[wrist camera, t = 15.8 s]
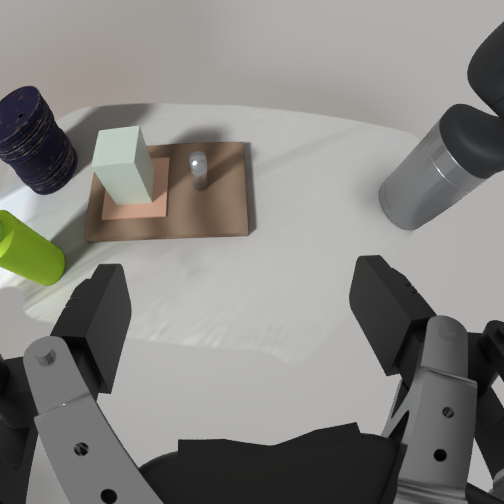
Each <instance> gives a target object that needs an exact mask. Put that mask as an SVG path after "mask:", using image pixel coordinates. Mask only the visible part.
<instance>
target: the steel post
mask: <svg viewBox="0 0 504 504" xmlns="http://www.w3.org/2000/svg"><path fill="white" fill-rule="evenodd" d="M189 161H190V168H191V174H192V180H193V186H194V188H195V190H197V191H204V190H205V189H207V187H208V175H207V161H206V155H205V154H204V153H203V152H201V151H196V152H193V153H192V154H191V155H190V157H189Z"/></svg>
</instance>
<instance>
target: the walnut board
mask: <svg viewBox="0 0 504 504" xmlns="http://www.w3.org/2000/svg"><path fill="white" fill-rule="evenodd" d="M146 147H147V150H148V153H149V156H150V159H152V158H167V157H169V158H170V160H169V174H168V190H167V209H166V217H150V218H131V219H114V220H102V212H103V204H104V196H105V187H104V186H103V184H102V183H101V181H100V180H99V178H98V177H97V175H96V174H95V172H94V175H93V180H92V186H91V192H90V198H89V205H88V212H87V220H86V228H85V237H84V239H85V240H86V241H87V242H105V241H127V240H151V239H176V238H204V237H235V236H248V218H247V201H246V185H245V168H244V151H243V142H215V143H188V144H170V145H156V146H146ZM196 151H201V152H203V153H204V154H205V155H206V161H207V175H208V187H207V189H205V190H204V191H197V190H195V188H194V186H193V180H192V174H191V168H190V161H189V157H190V155H191V154H192V153H193V152H196Z"/></svg>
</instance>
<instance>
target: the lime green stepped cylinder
mask: <svg viewBox="0 0 504 504" xmlns="http://www.w3.org/2000/svg"><path fill="white" fill-rule="evenodd" d="M0 267H2V268H5V269H7V270H9V271H11V272H14V273H16V274H18V275H20V276H23V277H25V278H27V279H30V280H32V281H35V282H37V283H39V284H42V285H46V286H48V285H52V284H54V283H56V282H57V281H58V280H59V279H60V277H61V276H62V274H63V271H64V268H65V258H64V255H63V252H62V251H61V250H60V249H59V248H58V247H57V246H55V245H54V244H52V243H51V242H49V241H48V240H47V239H45V238H44V237H42V236H41V235H39V234H38V233H37V232H35V231H34V230H32V229H31V228H30V227H28V226H27V225H25V224H24V223H23V222H21V221H20V220H19V219H17V218H16V217H15V216H13V215H12V214H11V213H9V212H8V211H6V210H0Z"/></svg>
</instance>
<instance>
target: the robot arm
mask: <svg viewBox="0 0 504 504" xmlns="http://www.w3.org/2000/svg"><path fill="white" fill-rule="evenodd" d="M467 76H468V81H469V84H470V86H471V87H472V89H473V90H474V91H475V93H476V94H477V95H478V96H479V97H480V98H481V99H482V100H483V101H484V102H485V103H486V104H487V105H488V106H489V107H490V108H491V109H492V110H493V111H494V112H495V113H496V114H497V115H498V116H499V117H497V116H493V115H490V114H487V113H485V112H483V111H480V110H478V109H476V108H474V107H472V106H469V105H466V104H456V105H453V106H452V107H450V108H449V109H448V110H447V111H446V112H445V114H444V115H443V116H442V117H441V119H440V120H439V121H438V122H437V123H436V124H435V125H434V127H433V128H432V129H431V130H430V131H429V133H428V134H427V135H426V136H425V137H424V138H423V139H422V141H421V142H420V143H419V144H418V145H417V146H416V147H415V148H414V150H413V151H412V152H411V153H410V154H409V155H408V156H407V157H406V159H405V160H404V161H403V162H402V163H401V164H400V165H399V166H398V167H397V168H396V170H395V171H394V172H393V173H392V174H391V175H390V176H389V177H388V178H387V179H386V180H385V182H384V183H383V184H382V186H381V188H380V194H379V198H380V203H381V206H382V209H383V211H384V213H385V214H386V216H387V217H388V218H389V219H390V220H391V221H392V222H393V223H394V224H395V225H397V226H398V227H400V228H402V229H406V230H415V229H418V228H419V227H421V226H422V225H423V224H425V223H427V222H428V221H430V220H432V219H433V218H435V217H436V216H438V215H439V214H440V213H442V212H443V211H445V210H446V209H448V208H449V207H451V206H452V205H453V204H455V203H456V202H458V201H459V200H461V199H462V198H463V197H464V196H465V195H467V194H468V193H470V192H471V191H472V190H474V189H475V188H476V187H478V185H480V184H481V183H483V182H484V181H486V180H487V179H488V178H490V177H491V176H492V175H494V174H495V173H497V172H501V171H503V170H504V22H503V23H502V24H501V25H500V26H499V27H497V29H495V30H494V31H493V32H492V33H491V34H490V35H489V36H488V38H487V39H486V40H485V41H484V42H483V43H482V44H481V45H480V47H479V48H478V49H477V50H476V52H475V54H474V55H473V57H472V59H471V61H470V64H469V67H468V71H467ZM349 302H350V307H351V310H352V312H353V313H354V315H355V317H356V319H357V321H358V323H359V324H360V326H361V328H362V330H363V332H364V334H365V336H366V338H367V339H368V341H369V343H370V345H371V347H372V349H373V351H374V353H375V355H376V357H377V358H378V360H379V362H380V364H381V366H382V368H383V370H384V372H385V374H386V376H390V375H395V374H399V373H400V375H401V377H402V378H401V380H400V382H399V384H398V387H397V391H396V395H395V397H394V401H393V404H392V407H391V410H390V413H389V417H388V420H387V422H386V425H385V428H384V430H383V432H382V434H381V436H379V435H375V434H366V433H360V430H359V428H358V425H357V423H356V422H354V423H350V424H345V425H340V426H335V427H329V428H323V429H318V430H314V431H312V432H309V433H307V434H304V435H302V436H299V437H296V438H294V439H291V440H288V441H286V442H283V443H280V444H277V445H271V446H268V445H259V444H252V443H245V442H238V441H232V440H226V439H209V440H208V439H207V440H178V451H176V452H171V453H168V454H165V455H162V456H159V457H157V458H155V459H152V460H150V461H149V462H147V463H146V464H144V465H142V466H141V467H139V468H138V466H137V465H136V464H135V462H134V461H133V459H132V458H131V456H130V455H129V454H128V452H127V451H126V449H125V448H124V446H123V445H122V443H121V442H120V440H119V439H118V437H117V436H116V434H115V433H114V431H113V429H112V428H111V426H110V424H109V423H108V421H107V419H106V418H105V416H104V414H103V413H102V411H101V409H100V407H99V406H98V404H97V402H96V401H97V397H98V393H106V394H111V392H112V387H113V383H114V379H115V375H116V371H117V367H118V363H119V359H120V356H121V352H122V348H123V344H124V341H125V337H126V334H127V330H128V327H129V323H130V320H131V301H130V297H129V293H128V288H127V284H126V279H125V275H124V270H123V267H122V265H121V264H99V265H98V267H97V268H96V270H95V272H94V274H93V275H92V277H91V279H85V280H84V281H83V282H82V283H81V284H79V285H78V286H77V287H76V288H75V290H74V291H73V293H72V295H71V297H70V300H68V302H67V304H66V306H65V308H64V309H63V311H62V313H61V315H60V317H59V319H58V321H57V322H56V324H55V326H54V328H53V330H52V332H51V334H50V336H47V337H43V338H40V339H38V340H36V341H34V342H33V343H32V344H31V345H30V346H29V347H28V348H27V349H26V351H25V353H24V356H23V357H18V358H12V359H6V360H4V359H3V358H2V356H1V354H0V504H26V496H27V489H28V483H29V477H30V471H31V466H32V461H33V456H34V451H35V446H36V442H37V438H38V433H39V435H40V438H41V441H42V443H43V446H44V448H45V451H46V453H47V456H48V458H49V460H50V463H51V465H52V467H53V470H54V472H55V474H56V476H57V478H58V480H59V482H60V484H61V486H62V488H63V490H64V492H65V494H66V496H67V498H68V500H69V502H70V504H504V408H503V406H502V404H501V402H500V401H499V399H498V397H497V396H496V394H495V392H494V390H493V389H492V387H491V385H492V384H493V383H494V381H495V380H496V378H497V377H498V375H500V377H501V378H502V380H503V382H504V322H501V321H498V320H493V321H490V322H488V323H487V325H486V327H485V329H484V331H483V333H470V332H467V331H466V329H465V328H464V326H463V325H462V324H461V323H460V322H458V321H457V320H455V319H453V318H451V317H448V316H440V315H439V316H437V315H436V313H435V312H434V311H433V310H432V308H431V307H430V306H429V305H428V303H427V302H426V301H425V300H424V298H423V297H422V296H421V295H420V294H419V293H417V290H416V289H415V288H414V286H412V285H411V283H410V282H409V281H408V279H407V278H406V277H405V276H404V275H403V274H401V273H399V272H398V271H397V270H395V269H394V268H391V267H390V266H389V265H388V263H387V262H386V261H385V260H384V259H383V258H382V257H381V256H380V255H369V256H359V257H358V259H357V261H356V266H355V271H354V275H353V280H352V284H351V289H350V294H349ZM474 438H475V440H476V442H477V444H478V446H479V449H480V451H481V453H482V455H483V458H484V460H485V462H486V465H487V467H488V469H489V472H490V474H491V477H492V479H493V488H492V489H490V490H489V492H488V493H487V492H485V491H483V490H481V489H479V488H478V487H476V486H474V485H472V484H470V483H468V482H467V478H468V473H469V467H470V461H471V455H472V447H473V439H474Z"/></svg>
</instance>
